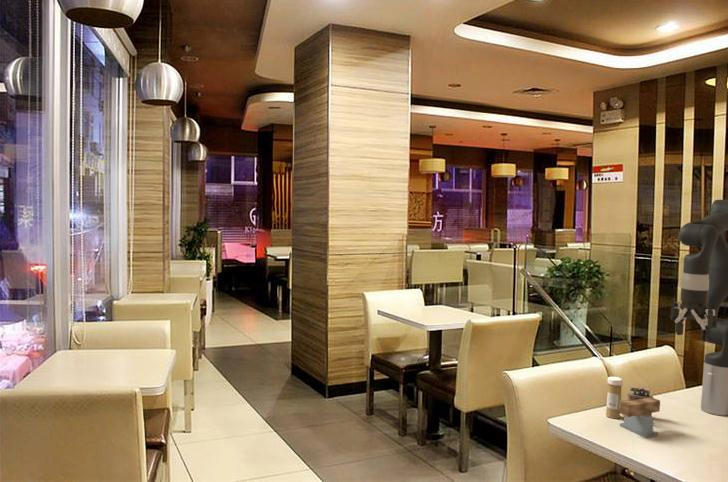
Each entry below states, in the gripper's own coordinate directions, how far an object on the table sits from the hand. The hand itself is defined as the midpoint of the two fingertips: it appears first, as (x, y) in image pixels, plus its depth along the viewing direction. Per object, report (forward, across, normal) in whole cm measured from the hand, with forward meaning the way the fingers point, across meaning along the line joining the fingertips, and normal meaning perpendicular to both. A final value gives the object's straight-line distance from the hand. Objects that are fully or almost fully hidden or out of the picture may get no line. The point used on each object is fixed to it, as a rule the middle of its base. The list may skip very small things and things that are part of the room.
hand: (691, 337), depth 183 cm
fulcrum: (+31, +6, +14) cm, 34 cm away
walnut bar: (+25, +6, +14) cm, 29 cm away
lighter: (+31, +15, +3) cm, 35 cm away
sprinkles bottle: (+31, +18, +12) cm, 38 cm away
